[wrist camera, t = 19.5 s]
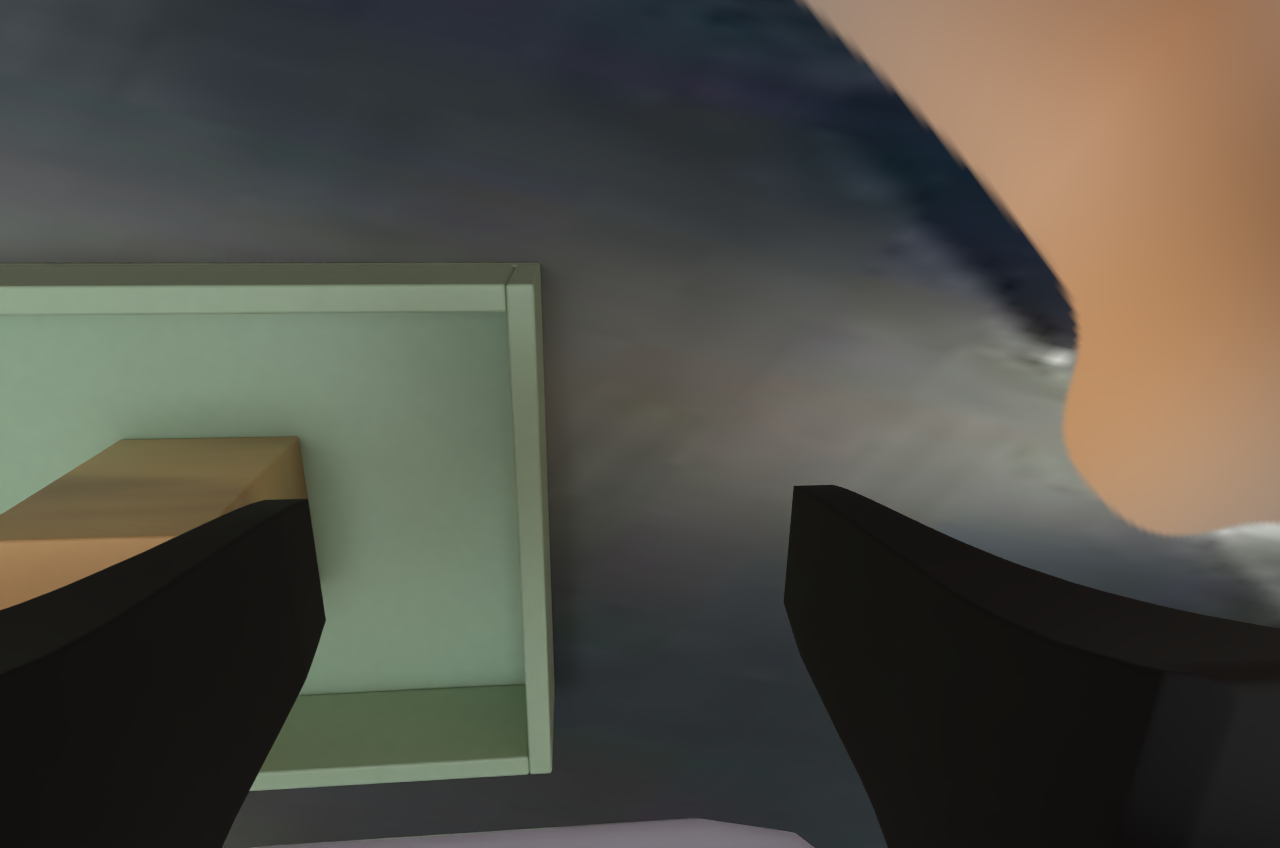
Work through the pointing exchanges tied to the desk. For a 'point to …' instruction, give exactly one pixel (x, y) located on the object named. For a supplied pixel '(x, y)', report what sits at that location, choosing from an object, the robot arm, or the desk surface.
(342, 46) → the desk surface
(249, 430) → the tray
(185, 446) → the block
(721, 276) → the desk surface
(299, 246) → the desk surface
